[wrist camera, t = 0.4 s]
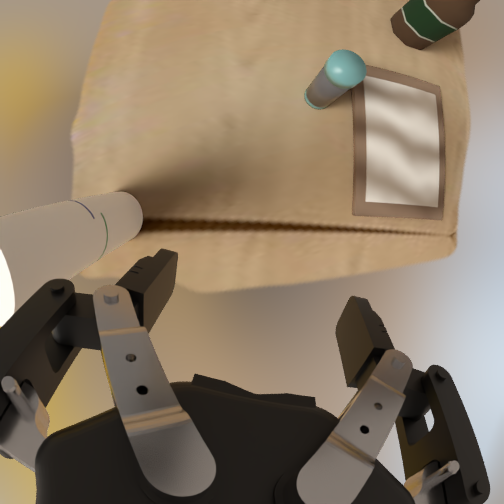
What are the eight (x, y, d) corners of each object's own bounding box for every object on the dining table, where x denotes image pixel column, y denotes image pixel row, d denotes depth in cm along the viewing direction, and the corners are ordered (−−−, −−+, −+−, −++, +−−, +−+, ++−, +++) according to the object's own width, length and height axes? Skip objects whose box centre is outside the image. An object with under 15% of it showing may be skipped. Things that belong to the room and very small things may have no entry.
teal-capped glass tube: (303, 83, 32) (328, 46, 20) (330, 86, 32) (364, 53, 20) (304, 108, 33) (330, 80, 21) (331, 111, 33) (368, 86, 21)
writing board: (349, 64, 31) (352, 61, 29) (436, 87, 31) (440, 86, 30) (352, 214, 36) (355, 216, 35) (438, 219, 37) (443, 220, 36)
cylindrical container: (120, 180, 34) (-26, 200, 10) (152, 217, 36) (27, 287, 12) (90, 216, 35) (-46, 270, 11) (121, 252, 37) (2, 343, 13)
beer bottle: (380, 14, 28) (460, -59, 5) (412, 14, 27) (492, -43, 4) (403, 52, 30) (503, -6, 6) (433, 50, 29) (528, 6, 6)
